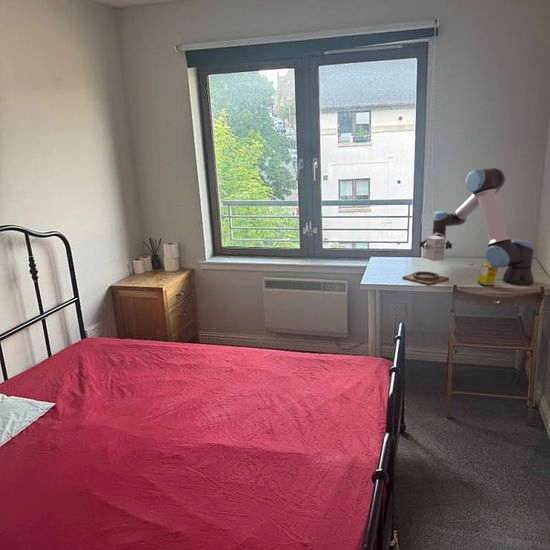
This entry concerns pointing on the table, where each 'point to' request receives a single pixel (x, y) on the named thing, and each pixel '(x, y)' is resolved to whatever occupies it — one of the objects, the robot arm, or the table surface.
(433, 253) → the supplement box
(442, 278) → the mount plate
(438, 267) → the table surface
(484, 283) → the supplement box
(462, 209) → the robot arm
